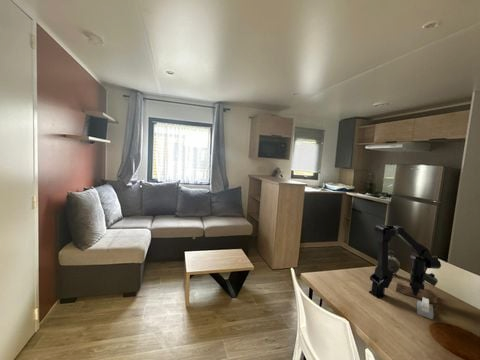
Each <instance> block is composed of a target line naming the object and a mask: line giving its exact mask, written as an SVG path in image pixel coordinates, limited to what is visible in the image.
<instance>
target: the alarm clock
mask: <svg viewBox="0 0 480 360" xmlns="http://www.w3.org/2000/svg"><path fill="white" fill-rule="evenodd" d="M390 252H392V253H393V255H392V254H390ZM394 254H395V252H394V251H393V250H388V268H389V269H390V270H391V271H393V274H395V276H398V275H397V273H398V272H399V271H400V268H401V263H400V261H399V259H397V258H396V257H394Z"/></svg>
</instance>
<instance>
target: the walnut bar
mask: <svg viewBox="0 0 480 360" xmlns="http://www.w3.org/2000/svg"><path fill="white" fill-rule="evenodd" d="M395 285H396V286H395V291H396V292H397V293H401V294H404V295H408V296H410V297H414V298H417V299H420V300H422V298H423V297H424V298H427V299H429V303H434V304H437V301H438V293H437V292H436V291H434V290H430V289H427V288H424V290H421V289H419V291H418V294H417V296H415V295H414V294H413V291H412V288H411V286H409V285H410V283H406V282H403V281H400V280H399V281H398V280H396V283H395Z"/></svg>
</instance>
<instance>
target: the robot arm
mask: <svg viewBox="0 0 480 360" xmlns="http://www.w3.org/2000/svg"><path fill="white" fill-rule="evenodd" d="M374 234H375V237H376V240H377V265H376V267H374V272H373V273H372V274H370V276H369V280H370V282H372V283H371V290H368V292H369V294H371V295H373V296H374V297H376V298H377V299H382V298H386V297H387V294H385V291H386V289H388V288H389V286H390V284H391V283H392V280H394V277H393V275H394V273H393V271H391V270H390V269H389V268H388V256H389V253H388V252H389V242H390V241H391V240H392V237H396V236H398V237H399V238H400V239H402V240H403V242H404V243H406V244H407V245H408V247H409V250H410V251H411V252H412V255H410V256H409V257H408V258H409V259H410V260H412V263H411V264H412V266H411V271H410V278H409V284H410V285H409V286H411V288H412V291H413V294H414V295H415V296H417V294H418V291H419V289H421V290H424V289H425V283H424V282H427V283H428V284H429V285H431V286H432V287H436V285H437V284H438V283H439V282H438V279H437V278H436V275H435V274H434V273H432V272H431V273H427V272H426V269H433V270H434V269H435V270H437V269H440V268H441V267H442V264H441V261H440V259H439V256H437V255H431V251H430V249H429V248H428V247H426V246H425V245H423V244H422V243H419V242H418V241H417V240H415V238H414V237H413V236H411V235H410V234H409V233H408V232H407V230H405V228H404V227H402V226H400V225H397V224H395V225H387V224H377V225H376V226H374ZM414 254H415V255H414Z"/></svg>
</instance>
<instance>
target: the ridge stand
mask: <svg viewBox="0 0 480 360" xmlns="http://www.w3.org/2000/svg"><path fill="white" fill-rule="evenodd" d="M416 314H417V315H419V316H421V317H425V318H427V319H430V320H434V314H435V313H434V306H433V304H431V303H430V301H429V299H427V298H424V297H423V298H422V299H421V300H417V302H416Z"/></svg>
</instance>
